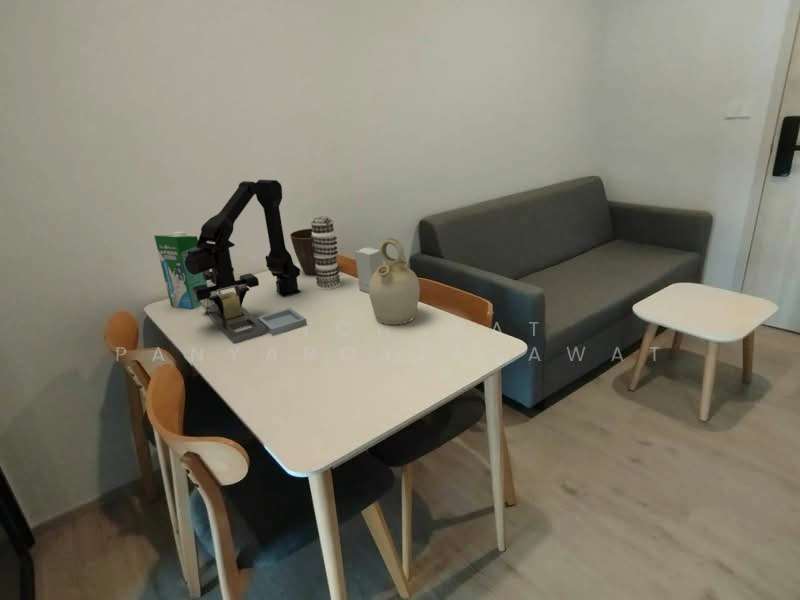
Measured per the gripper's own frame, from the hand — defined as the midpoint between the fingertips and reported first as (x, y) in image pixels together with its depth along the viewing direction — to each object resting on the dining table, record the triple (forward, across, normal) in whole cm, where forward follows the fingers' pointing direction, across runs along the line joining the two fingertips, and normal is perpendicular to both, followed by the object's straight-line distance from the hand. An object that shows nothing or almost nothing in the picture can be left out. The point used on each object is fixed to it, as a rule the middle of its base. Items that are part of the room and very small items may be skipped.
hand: (230, 312), depth 151 cm
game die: (+3, +2, -11) cm, 12 cm away
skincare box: (+3, -47, +8) cm, 48 cm away
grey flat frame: (+3, 0, +5) cm, 6 cm away
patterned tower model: (+3, -38, -7) cm, 39 cm away
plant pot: (+3, -41, -24) cm, 48 cm away
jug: (+3, -40, +32) cm, 51 cm away
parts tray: (+3, -11, +13) cm, 17 cm away
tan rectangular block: (+3, 0, 0) cm, 3 cm away
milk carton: (+3, +6, -25) cm, 26 cm away
